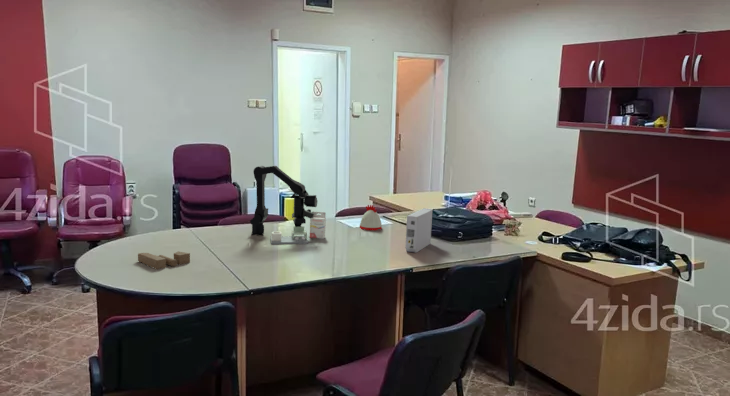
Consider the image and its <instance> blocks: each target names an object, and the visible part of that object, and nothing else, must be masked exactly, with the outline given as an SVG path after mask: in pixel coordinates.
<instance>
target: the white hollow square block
mask: <svg viewBox="0 0 730 396" xmlns="http://www.w3.org/2000/svg"><path fill="white" fill-rule="evenodd" d="M271 236H272V241H281V236H282V231H271Z"/></svg>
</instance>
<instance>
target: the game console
mask: <svg viewBox="0 0 730 396" xmlns="http://www.w3.org/2000/svg"><path fill="white" fill-rule="evenodd" d="M432 221H433V209H431V208H425V207H423V208H421V209H420V210H417V211H415V212H413V213H411V214H409V215H407V216H406V229H405V230H406V232H405V247H404V248H405V250H406V252H408V253H409V252H411V253H416V254H417V253H418V252H419V251H421V250H422V249H424V248H426V247H427V246H429V245H430V244H431V242H432V241H431V239H432V226H433V224H432Z"/></svg>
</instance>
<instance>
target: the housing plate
mask: <svg viewBox="0 0 730 396" xmlns="http://www.w3.org/2000/svg"><path fill="white" fill-rule="evenodd" d="M270 244H271V245H308V244H309V241H308V238H307V239H305V236H304V235H294V239H292V235H290V236H289V235H287V236H285V235H284V236H282V235H281V241H272V235H271V236H270Z"/></svg>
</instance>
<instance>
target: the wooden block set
mask: <svg viewBox="0 0 730 396" xmlns="http://www.w3.org/2000/svg"><path fill="white" fill-rule="evenodd" d="M138 261H139V262H138ZM137 262H138V263H140V262H142V263H141V264H143V263H144V264H143V265H146V264H147V265H148V266H147V265H146V266H147V267H149V266H151V267H150V268H152V267H154V268H156V269H155V270H160V269H159V268H162V269H166V268H167V265H168V266H171V267H176V266H177V265H179V264H180V265H183V264H184V265H185V264H188V263H191V253H190V252H183V251H176V252H173V258H171V257H169V256H166V255H164V254H163V255H162V254H159V255H157V254H152V253H149V252H140V253H139V252H138V253H137ZM165 267H166V268H165ZM154 268H153V269H154Z"/></svg>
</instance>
